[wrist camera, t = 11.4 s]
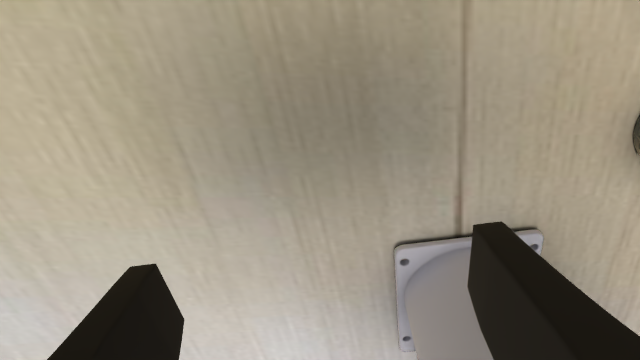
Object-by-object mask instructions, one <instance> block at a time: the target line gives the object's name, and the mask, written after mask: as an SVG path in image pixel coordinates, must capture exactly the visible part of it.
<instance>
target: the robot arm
mask: <svg viewBox="0 0 640 360" xmlns="http://www.w3.org/2000/svg"><path fill="white" fill-rule="evenodd" d="M543 241H544V236H543V235H542V233H541V232H540V231H539V230H525V231H516V232H513V231H512V230H511V229H510V228H509V227H507V226H506V225H505V224H504V223H503V222H493V223H485V224H477V225H473V234H472V237H465V238H456V239H447V240H439V241H430V242H422V243H413V244H404V245H400V246H398V247H396V249H395V250H394V261H395V282H396V302H397V322H398V343H399V348H400V350H401V351H403V352H411V351H416V354H417V359H418V360H640V336H638V335H637V334H636V333H634V332H633V331H632V330H630V329H629V328H628V327H626V326H625V325H624V324H622V323H621V322H620V321H619V320H617V319H616V318H615V317H613V316H612V315H611V314H609V313H608V312H607V311H606V310H604V309H603V308H602V307H601V306H599V305H598V304H597V303H595V302H594V301H593V300H592V299H591V298H589V297H588V296H587V295H586V294H585V293H583V292H582V291H581V290H580V289H578V288H577V287H576V286H575V285H574V284H572V283H571V282H570V281H569V280H568V279H566V278H565V277H564V276H563V275H562V274H560V273H559V272H558V271H557V270H556V269H555V268H554V267H552V266H551V265H550V264H549V263H548V262H547V261H546V260H544V259H543V258H542V257H541V256H540V255H541V250H542V246H543ZM532 244H533V245H532ZM530 245H531V246H530ZM402 259H406V260H402ZM183 325H184V318H183V316H182V314H181V312H180V310H179V308H178V306H177V304H176V302H175V300H174V298H173V296H172V294H171V292H170V290H169V289H168V287H167V285H166V283H165V281H164V279H163V277H162V275H161V273H160V271H159V269H158V267H157V265H156V264H149V265H141V266H133V267H130V268H129V269H128V270H127V271H126V272H125V273H124V274H123V275H122V276H121V277H120V278H119V279H118V281H117V282H116V283H115V284H114V285H113V286H112V287H111V288H110V290H109V291H108V292H107V293H106V294H105V295H104V296H103V298H102V299H101V300H100V301H99V302H98V303H97V305H96V306H95V307H94V308H93V309H92V310H91V311H90V313H89V314H88V315H87V316H86V317H85V318H84V319H83V320H82V322H81V323H80V324H79V325H78V326H77V327H76V328H75V329H74V331H73V332H72V333H71V334H70V335H69V336H68V337H67V338H66V340H65V341H64V342H63V343H62V344H61V345H60V346H59V347H58V348H57V350H56V351H55V352H54V353H53V354H52V355H51V356H50V357H49V358H48V359H47V360H179V355H180V348H181V341H182V333H183Z"/></svg>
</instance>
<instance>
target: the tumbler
mask: <svg viewBox="0 0 640 360" xmlns="http://www.w3.org/2000/svg"><path fill="white" fill-rule="evenodd" d="M634 145H635V149H636V151H637V153H638V154H639V156H640V116H639V118H638V121H637V123H636V126H635V130H634Z"/></svg>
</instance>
